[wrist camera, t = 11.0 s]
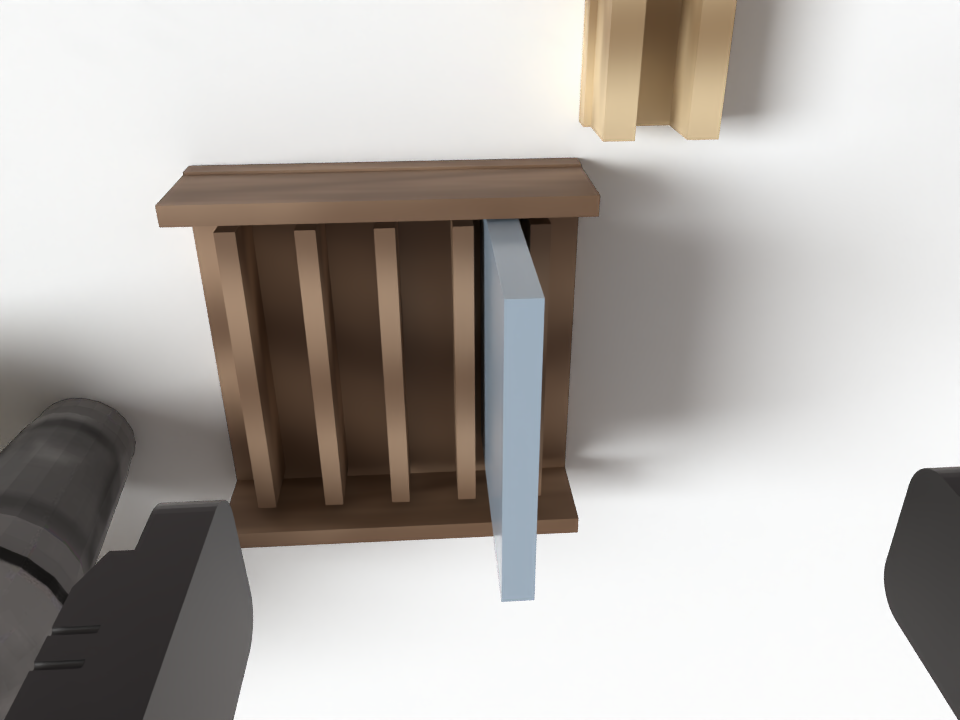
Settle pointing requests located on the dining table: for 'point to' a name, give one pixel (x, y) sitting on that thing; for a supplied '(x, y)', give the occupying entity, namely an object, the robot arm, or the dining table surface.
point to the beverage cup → (53, 521)
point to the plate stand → (655, 66)
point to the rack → (374, 338)
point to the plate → (511, 399)
